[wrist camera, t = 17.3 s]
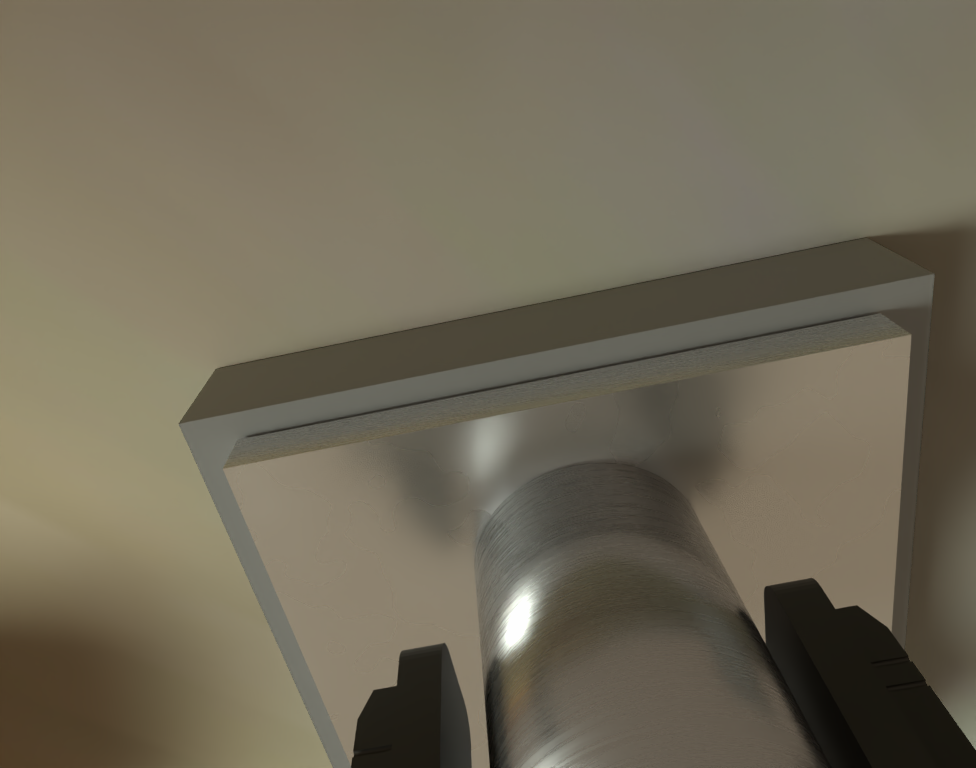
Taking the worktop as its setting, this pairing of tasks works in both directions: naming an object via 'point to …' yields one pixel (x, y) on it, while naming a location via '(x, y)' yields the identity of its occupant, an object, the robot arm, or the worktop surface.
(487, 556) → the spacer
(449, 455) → the shower mixer plate
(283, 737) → the worktop surface
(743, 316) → the scale
